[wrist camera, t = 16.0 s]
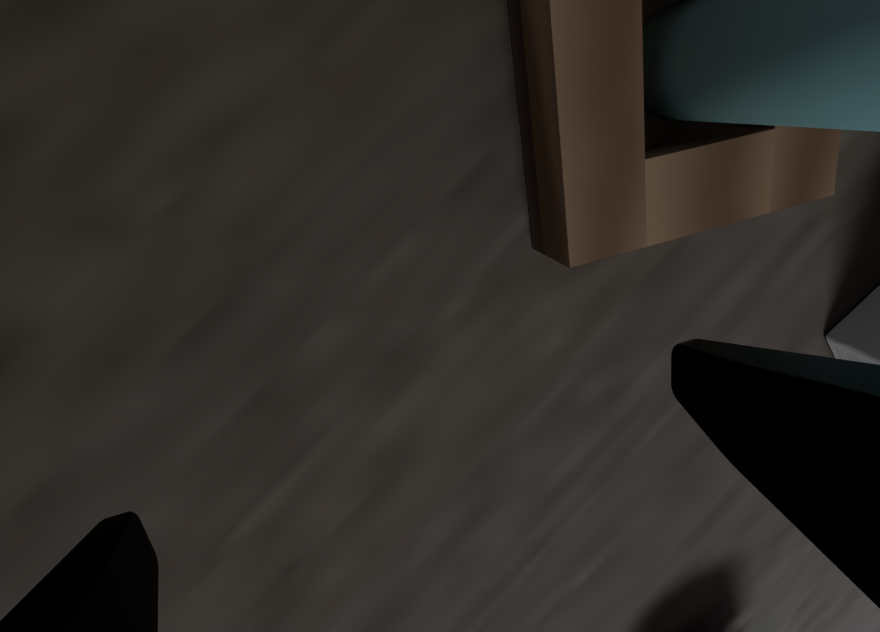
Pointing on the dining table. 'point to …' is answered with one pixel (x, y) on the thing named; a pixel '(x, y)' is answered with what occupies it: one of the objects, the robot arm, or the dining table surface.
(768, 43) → the peg
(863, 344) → the skincare box
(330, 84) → the dining table surface
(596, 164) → the socket block
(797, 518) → the robot arm
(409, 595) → the dining table surface
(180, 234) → the dining table surface
